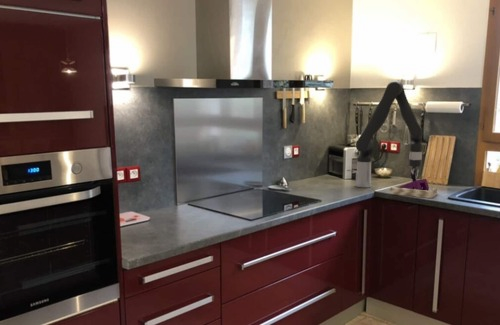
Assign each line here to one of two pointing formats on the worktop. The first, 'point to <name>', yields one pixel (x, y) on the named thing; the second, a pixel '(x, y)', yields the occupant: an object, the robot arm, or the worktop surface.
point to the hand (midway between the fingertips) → (414, 185)
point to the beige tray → (414, 192)
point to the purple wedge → (417, 185)
